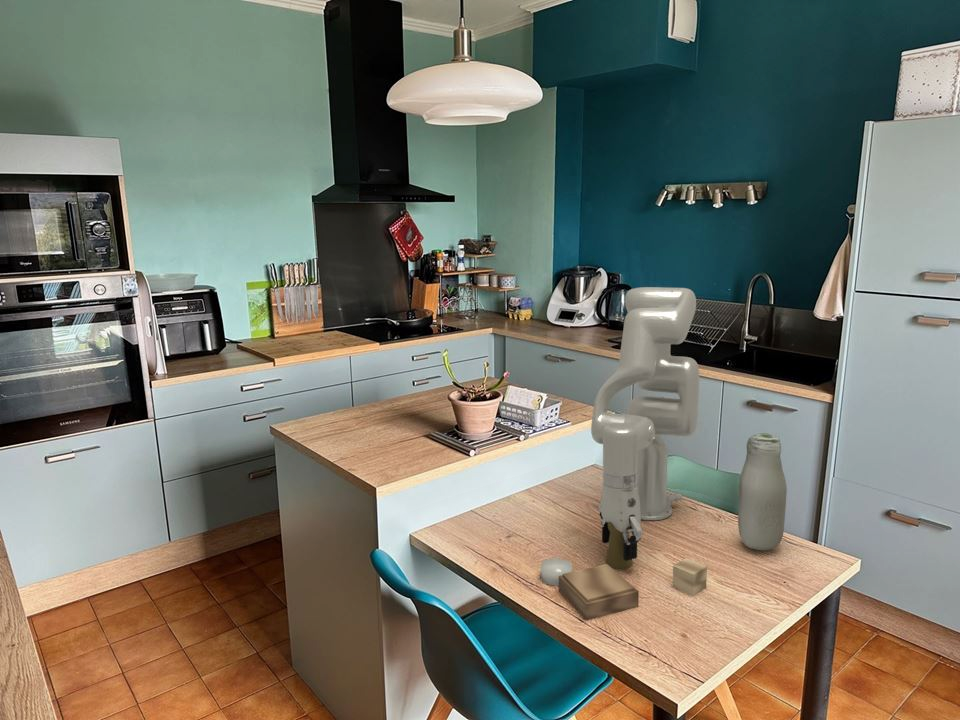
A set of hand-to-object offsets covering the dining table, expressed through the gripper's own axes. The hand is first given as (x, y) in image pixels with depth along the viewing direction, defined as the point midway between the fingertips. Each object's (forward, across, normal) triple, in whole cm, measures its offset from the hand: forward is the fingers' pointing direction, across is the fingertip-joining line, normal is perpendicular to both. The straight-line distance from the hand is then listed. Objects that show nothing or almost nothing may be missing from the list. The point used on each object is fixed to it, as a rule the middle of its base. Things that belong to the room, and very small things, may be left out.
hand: (619, 550), depth 157 cm
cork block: (+3, -15, -8) cm, 17 cm away
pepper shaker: (+4, 0, 0) cm, 4 cm away
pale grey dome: (+4, 0, +16) cm, 16 cm away
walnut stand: (+3, -11, +12) cm, 16 cm away
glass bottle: (+3, -7, -34) cm, 35 cm away
